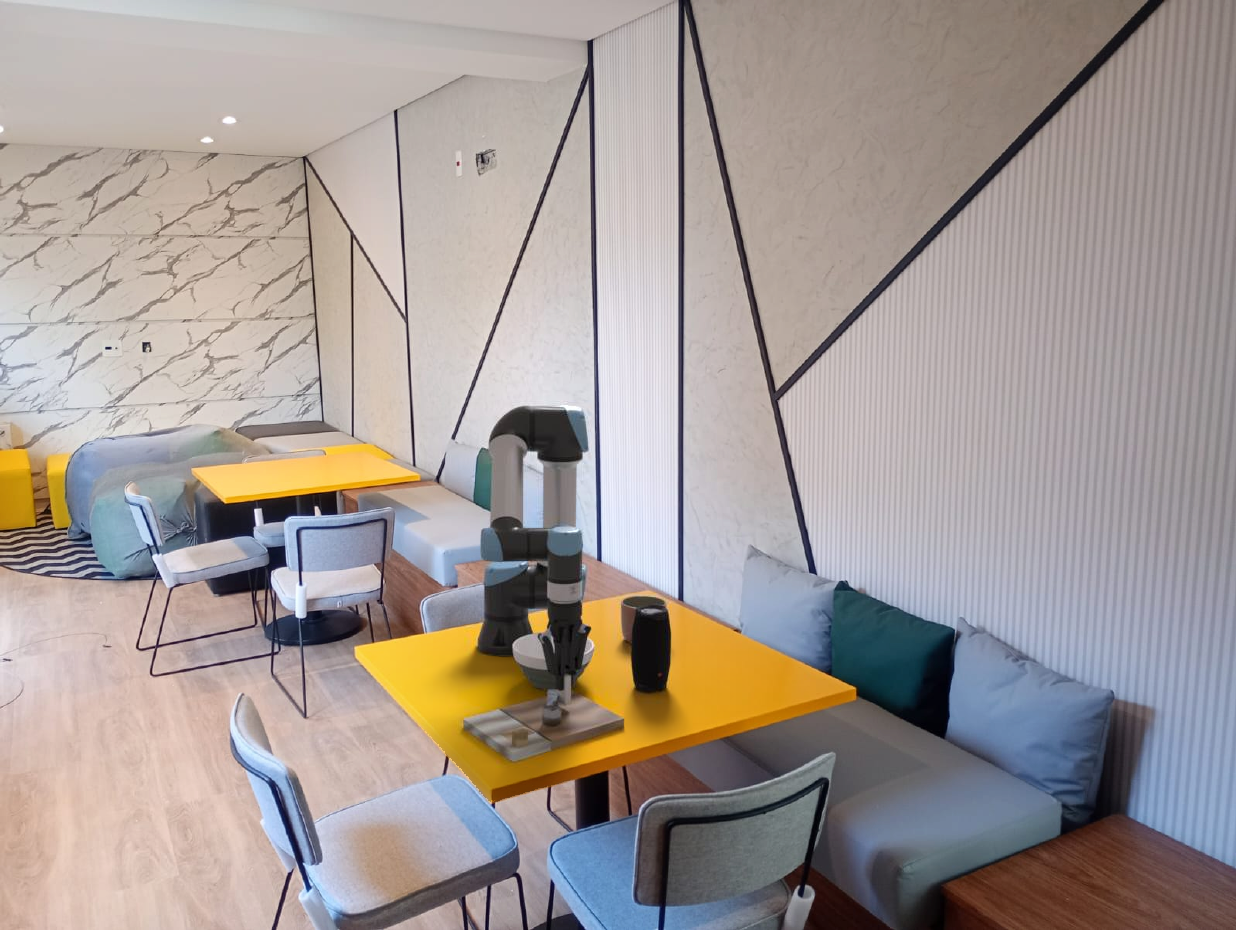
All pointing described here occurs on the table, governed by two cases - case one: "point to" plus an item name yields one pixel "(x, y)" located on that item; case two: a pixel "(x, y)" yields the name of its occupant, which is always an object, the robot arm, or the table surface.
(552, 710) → the door lever handle
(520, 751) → the board
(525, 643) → the bowl
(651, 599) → the planter
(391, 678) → the table surface
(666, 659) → the portable speaker
